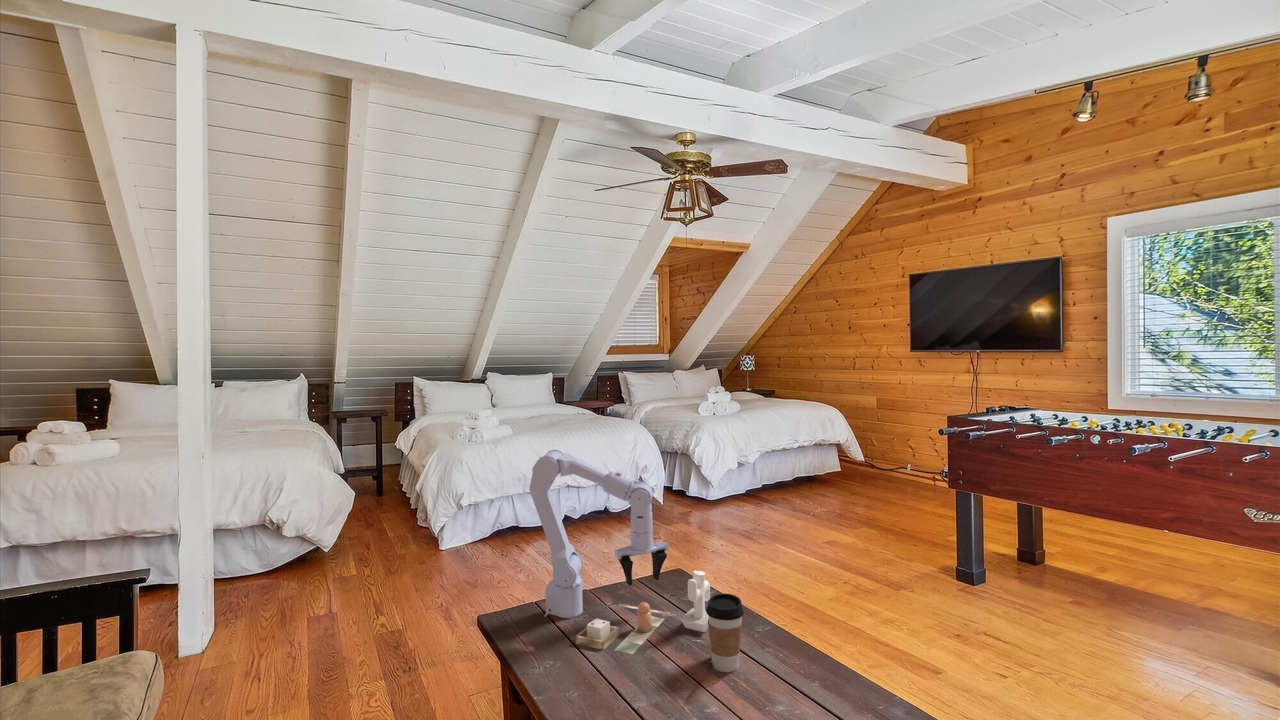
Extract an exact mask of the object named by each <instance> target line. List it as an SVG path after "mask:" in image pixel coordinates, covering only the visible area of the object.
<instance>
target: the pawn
mask: <svg viewBox="0 0 1280 720" xmlns="http://www.w3.org/2000/svg"><path fill="white" fill-rule="evenodd" d="M637 607H638V609H637V611H636V620H637V621H636V622H637V626H638V631H639V632H650V631H651V630H652V616H653V615H652V612H651V610H652V609H651V607H650V604H649V603H648V602H646V601H645V602H644V601H643V602H640V603H639V604H638V606H637ZM650 609H651V610H650ZM637 626H636V627H637Z"/></svg>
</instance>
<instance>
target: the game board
mask: <svg viewBox="0 0 1280 720" xmlns="http://www.w3.org/2000/svg"><path fill="white" fill-rule="evenodd" d="M618 606H619V607H621V608H622V607H624V608H629V609H633V610H638V606H635V605H633V606H632V605H628V604H623V603H619V604H618ZM650 610H651V613H657V614H663V615H668V616H670V615H671V614H672V612H668V611H662V610H656V609H652V608H650ZM651 616H652V630H651V631H650V632H639V631H638V626H636V627H635V628H634V629H633V630H632V631H631V632H630V633H629V634H628V635H627V636H626V637H625V638H624V639H623V640H622V641H621V643H619V644H618V645H617V647H616V648H614V652H615V651H616V652H620V653H624V654H629V655H634V653H635V652H636V651H637V650H638V649H639V648H640V647H641V646H642V645H643V644H644V643H645V641H647V640H648V638H649V637H650V636H651V635H652V633H654V632H655V630H656V629H657V628H658V627H660V625H661V624H662V623H663V622H664V621H665V618H662V617H657V616H653V615H651ZM619 636H620V627H618V626H614V625H610V634H609V635H608V636H607V637H606V638H605V639H604V640H603V641H602V640H597V639H592V638H587V626H586V627H584V629H582V630H581V631H580V632H579V633H578V634H576V635H575V644H576V645H579V646H583V647H588V648H593V649H596V650H597V649H598V650H603V651H604V650H606V649H607V648H608V647H609V645H611V644H612V643H613V641H615V640H616V638H618V637H619Z"/></svg>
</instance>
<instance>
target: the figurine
mask: <svg viewBox="0 0 1280 720" xmlns="http://www.w3.org/2000/svg"><path fill="white" fill-rule="evenodd" d="M687 598H688V599H689V601H690V602H693V607H692V608H691V609H689V610H688V611H687V612H686V613H685V614H684V615H683V616H682V617H680V621H681V623H682V624H683V627H684V628H685V629H690V630H692V631H696V632H702V633H706V632H707V631H709V627H708V619H709V618H708V614H707V613H706V608H705V607H706V605H705V604H706V603H705V602H709V599H710V598H711V585H710V582H709V581H708V580H706V572H705V571H701V570H694V571H693V572H692V578H689V579H688V581H687Z"/></svg>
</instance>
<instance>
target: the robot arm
mask: <svg viewBox="0 0 1280 720" xmlns="http://www.w3.org/2000/svg"><path fill="white" fill-rule="evenodd" d="M531 470H532V473H531V479H530V485H529V492H530V495H531V498H532V500H533V504H534V506H535V509H536V513H537V514H538V517H539V520H540V523H541V526H542V529H543V533H544V534H545V537H546V540H547V543H548V546H549V548H550V551H551V566H552V579H551V580H550V581H548V584H547V585H546V589H545V595H544V596H545V614H544V616H543V617H544V618H545V617H547V616H548V615H553V616H557V617H560V618H563V619H572V618H573V619H574V618H575V617H577V616H580V614H582V613H583V612H584V610H583V608H584V607H583V580H582V577H581V575H580V573H581V571H582V570H583V567H584V561H583V559H582V557H581V555H579V553H578V552H577V551H576V549H575V546H573V545H572V544H571V543H570V540H569V538H568V535H567V532H566V528H565V526H564V524H563V520H562V518H561V516H560V513H559V510H558V507H557V505H556V504H557V503H556V501H555V499H554V496H553V493H552V489H551V488H552V486H553V484H554V482H555V480H556V478H557V477H558V476H560V477H565V476H566V477H567V476H571V475H575V476H578V477H581V478H583V479H585V480H588V481H590V482H593V483H595V484H597V485H601V487H602V489H603V492H604V493H606V494H609V495H611V496H614V497H616V498H618V499H620V500H622V501H624V502H628V503H629V505H630V509H631V510H630V545H627V546H625V547H621V548H619V549H615V550H614V557H615V558H616V559H617V560H618V562H619V563H620V566H621V567H622V571H623V573H624V576H625V580H626V583H627V585H629V586H633V567H634V566H633V565H634V561H633V560H632V559H631V557H634V556H635V557H636V556H640V555H641V556H642V555H646V554H651V560H652V561H651V562H652V578H653V579H654V580H655V581H659V580H660V574H661V572H662V567H663V565H664V563H665V562H666V559H667V557H668V555H667V552H669V550H670V549H669V545H670V544H669V543H668V542H667V541H661V542H657V541H656V542H654V540H653V539H654V533H653V532H654V530H653V523H654V522H653V521H654V520H653V512H652V511H653V506H652V500H653V496H654V493H653V489H652V487H651V486H650V484H648V483H646V482H645V481H639V480H638V479H635V480H634V479H631V478H629V477H627V476H625V475H623V472H621V471H619V470H617V472H616V471H610V472H608V473H607V472H604V471H603V470H601V469H598V468H596V467H595V466H592V465H591V464H589V463H587V462H585V461H583V460H581V459H579V458H577V457H575V456H573V455H571V454H570V453H567V452H562V451H561V450H559V449H551V450H548V451H547V452H546V454H545V455H543V456H541V457H540V458H538V459H537V460H536V462H535V464H534V465H533V467H532V468H531Z"/></svg>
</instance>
